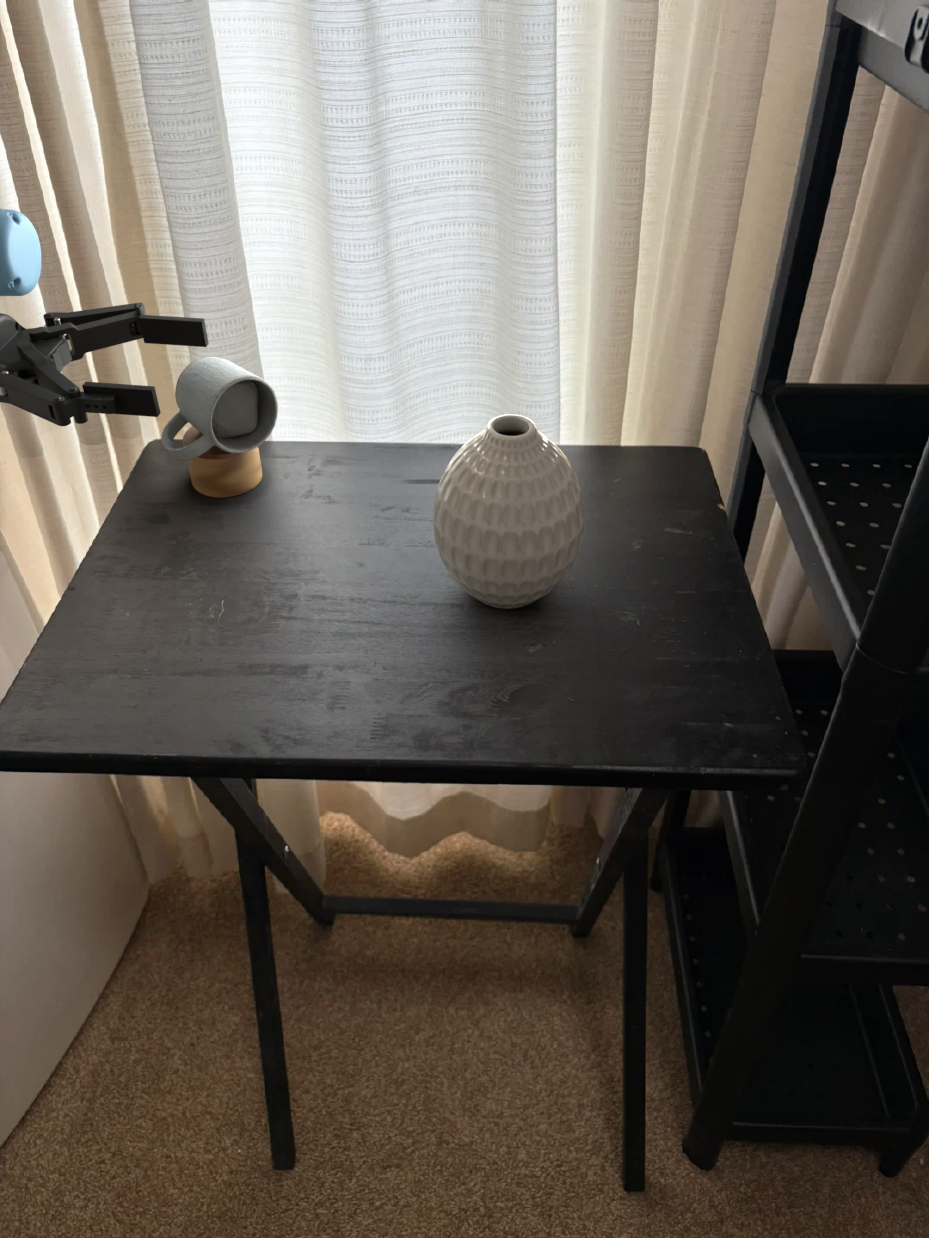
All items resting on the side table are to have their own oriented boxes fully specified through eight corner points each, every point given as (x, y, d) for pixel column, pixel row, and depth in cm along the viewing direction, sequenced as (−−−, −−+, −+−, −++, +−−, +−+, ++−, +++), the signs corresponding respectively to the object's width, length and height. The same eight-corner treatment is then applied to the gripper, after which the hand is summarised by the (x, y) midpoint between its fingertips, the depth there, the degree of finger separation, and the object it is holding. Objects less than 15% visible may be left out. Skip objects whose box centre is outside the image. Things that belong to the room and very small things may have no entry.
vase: (476, 653, 87) (478, 488, 75) (411, 567, 95) (403, 408, 84) (605, 606, 91) (624, 444, 80) (532, 528, 99) (539, 372, 88)
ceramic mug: (239, 405, 107) (226, 337, 102) (284, 436, 102) (273, 367, 97) (148, 444, 102) (129, 374, 97) (191, 479, 97) (174, 407, 92)
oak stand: (193, 502, 103) (184, 459, 100) (189, 463, 108) (180, 422, 105) (266, 491, 104) (259, 449, 101) (258, 454, 109) (252, 412, 106)
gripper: (39, 329, 112) (228, 341, 110) (-83, 454, 94) (141, 471, 91) (19, 261, 107) (217, 273, 105) (-114, 379, 89) (122, 396, 86)
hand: (182, 365), depth 98 cm, fingers open, 13 cm apart
